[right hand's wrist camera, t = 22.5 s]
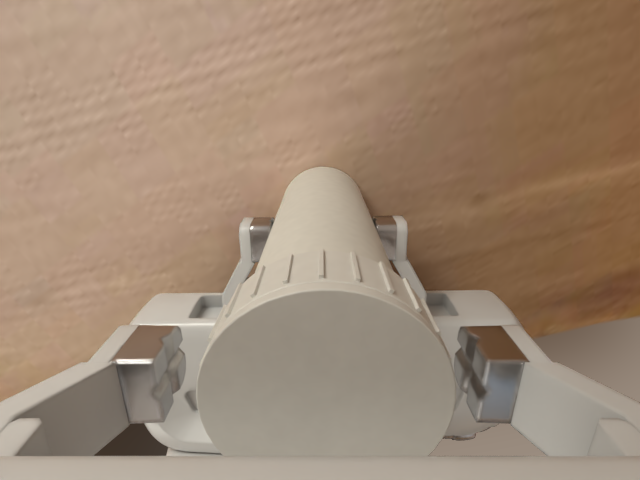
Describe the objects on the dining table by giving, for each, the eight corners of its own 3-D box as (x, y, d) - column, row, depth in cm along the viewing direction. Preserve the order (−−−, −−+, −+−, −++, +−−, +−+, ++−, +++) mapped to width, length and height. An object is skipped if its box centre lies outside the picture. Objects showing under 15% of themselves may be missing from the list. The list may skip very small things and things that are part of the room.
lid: (244, 441, 12) (229, 510, 10) (190, 266, 10) (157, 310, 8) (439, 417, 11) (464, 483, 9) (425, 230, 9) (453, 265, 7)
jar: (377, 217, 24) (464, 400, 10) (311, 257, 25) (299, 479, 10) (335, 150, 22) (360, 245, 8) (266, 195, 23) (179, 352, 9)
